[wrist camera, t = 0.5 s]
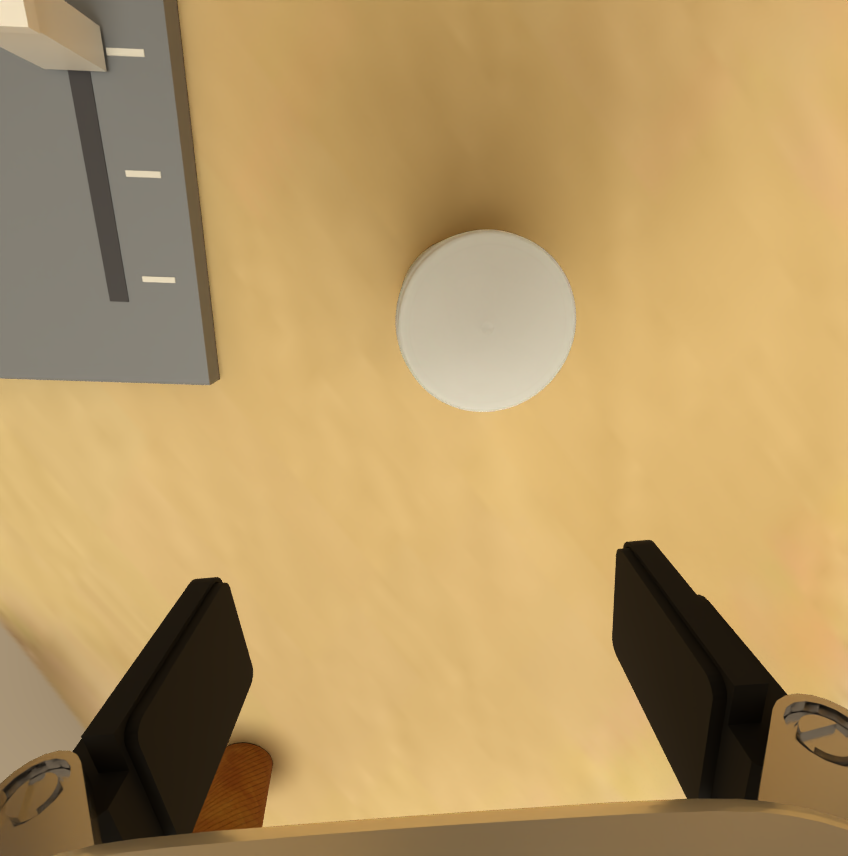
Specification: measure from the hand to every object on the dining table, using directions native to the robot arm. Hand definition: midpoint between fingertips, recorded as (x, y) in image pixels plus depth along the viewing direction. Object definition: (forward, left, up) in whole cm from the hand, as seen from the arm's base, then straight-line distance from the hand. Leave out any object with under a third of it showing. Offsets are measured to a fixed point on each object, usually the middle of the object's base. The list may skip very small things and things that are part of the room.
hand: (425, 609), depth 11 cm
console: (-12, -28, -30) cm, 43 cm away
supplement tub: (-5, +3, -30) cm, 31 cm away
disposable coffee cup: (+48, -19, -30) cm, 60 cm away
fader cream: (-20, -23, -27) cm, 41 cm away
